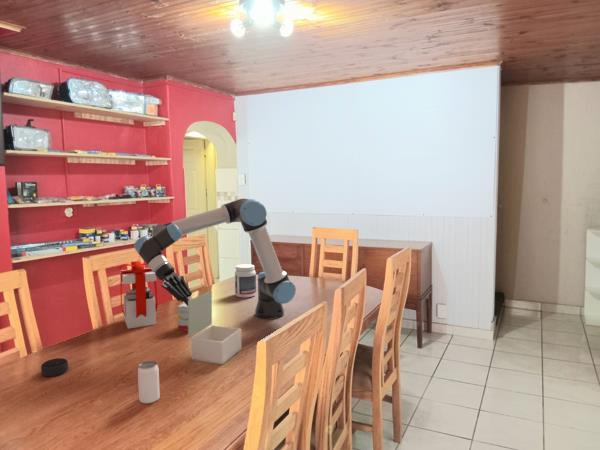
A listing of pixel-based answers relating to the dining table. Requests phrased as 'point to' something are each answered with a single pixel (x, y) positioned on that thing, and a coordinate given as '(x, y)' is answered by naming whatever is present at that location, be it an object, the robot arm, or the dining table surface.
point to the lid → (199, 313)
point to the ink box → (183, 317)
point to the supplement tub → (245, 281)
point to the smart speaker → (54, 367)
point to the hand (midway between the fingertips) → (196, 310)
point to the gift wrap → (138, 295)
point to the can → (148, 382)
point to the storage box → (216, 344)
